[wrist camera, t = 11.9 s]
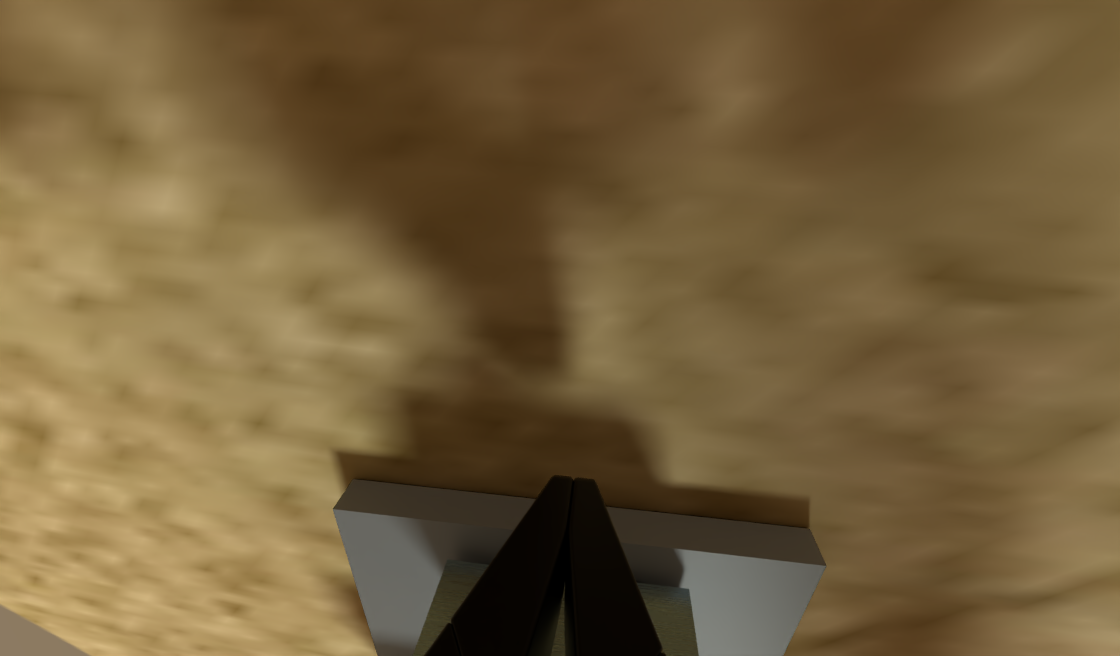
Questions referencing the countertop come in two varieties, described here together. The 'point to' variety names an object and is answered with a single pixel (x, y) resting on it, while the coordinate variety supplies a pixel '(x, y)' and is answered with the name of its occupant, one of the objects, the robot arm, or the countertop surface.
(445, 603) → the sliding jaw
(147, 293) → the countertop surface
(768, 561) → the vise bed
